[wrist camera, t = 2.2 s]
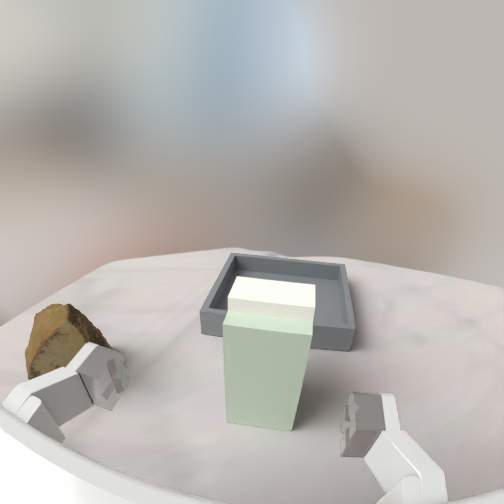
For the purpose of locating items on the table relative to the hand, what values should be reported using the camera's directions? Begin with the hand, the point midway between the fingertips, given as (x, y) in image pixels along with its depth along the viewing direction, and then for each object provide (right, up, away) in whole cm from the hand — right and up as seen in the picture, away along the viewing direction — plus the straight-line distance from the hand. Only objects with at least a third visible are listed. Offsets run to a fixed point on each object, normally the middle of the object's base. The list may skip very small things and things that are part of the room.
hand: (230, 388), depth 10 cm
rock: (-20, -9, +20) cm, 29 cm away
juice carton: (+2, -10, +18) cm, 21 cm away
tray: (+5, -3, +33) cm, 34 cm away
